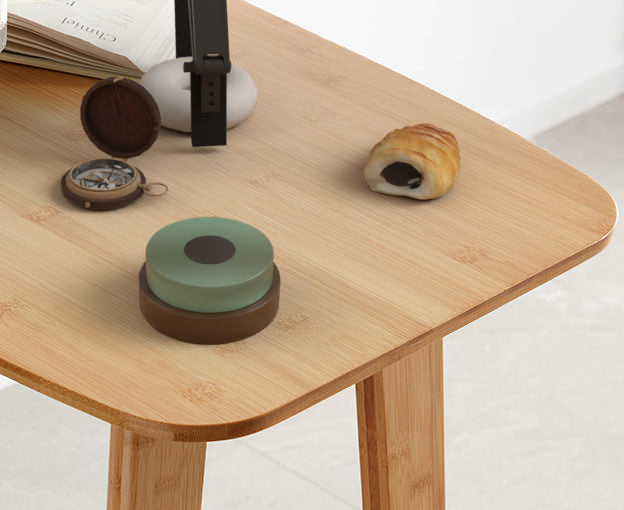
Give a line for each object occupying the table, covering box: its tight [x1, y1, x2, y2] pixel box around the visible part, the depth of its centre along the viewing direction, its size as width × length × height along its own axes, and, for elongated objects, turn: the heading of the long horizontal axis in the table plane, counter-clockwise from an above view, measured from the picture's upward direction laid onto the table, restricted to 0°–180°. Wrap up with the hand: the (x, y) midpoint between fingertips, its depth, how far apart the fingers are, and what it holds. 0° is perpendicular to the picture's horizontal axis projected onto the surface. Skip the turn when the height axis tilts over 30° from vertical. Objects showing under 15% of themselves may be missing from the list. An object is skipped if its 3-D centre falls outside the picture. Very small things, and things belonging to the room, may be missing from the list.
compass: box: [60, 75, 169, 211], centre depth 82 cm, size 8×8×7 cm
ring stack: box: [138, 216, 281, 345], centre depth 72 cm, size 9×9×4 cm
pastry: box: [362, 123, 461, 200], centre depth 87 cm, size 9×7×4 cm
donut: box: [138, 57, 259, 133], centre depth 94 cm, size 10×4×10 cm
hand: (199, 106), depth 95 cm, fingers open, 13 cm apart
